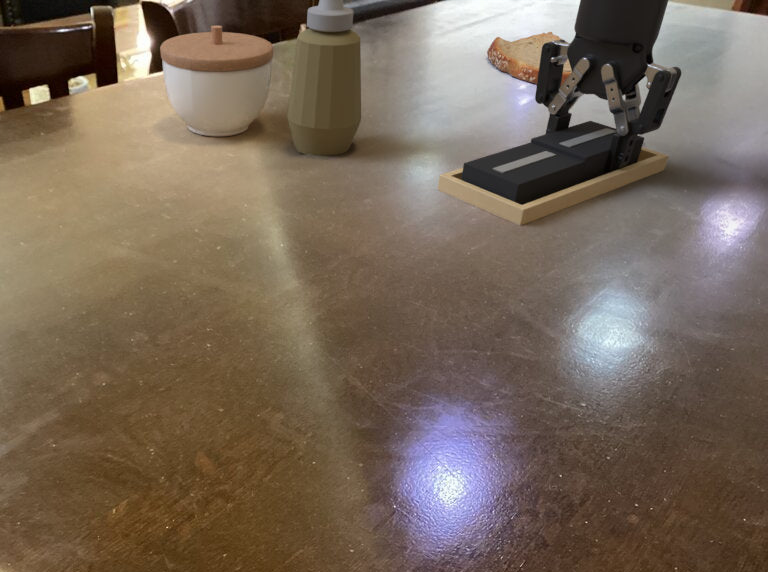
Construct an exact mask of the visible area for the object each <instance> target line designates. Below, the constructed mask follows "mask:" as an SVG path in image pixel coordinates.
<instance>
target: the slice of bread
mask: <svg viewBox="0 0 768 572" xmlns="http://www.w3.org/2000/svg"><path fill="white" fill-rule="evenodd" d="M561 39H562V38H561V37H560V36H559V35H557V34H553V32H552V31H548V32H547V33H546V32H542V33H539V34H533V35H530V36H528V37H521V38H520V39H517V40H516V39H515V40H513V41H510V40H506V39H504V38H502V37H500V36H496V38H494V40H493V41H492V42H491V43H490V45H489V47H488V49H487V52H486V54H487V58H488V61H489V62H490V63H491V65H492V66H494V67H495V68H496V69H497V70H498V71H501V72H503V73H507V74H508V75H510V76H511V77H513V78H516V79H518V80H521V81H524V82H529V83H532V84H535V85H537V81H538V73H539V66H540V58H541V51H542V46H543V45H544V44H545V43H547V42H551V41H555V40H561ZM566 43H569V42H568V41H566ZM571 73H572V70H571V66H570V63H569V60H568V59H567V61H566V62H565V63H564V67H563V74H562V81H561V86H562V84H563V83H564V82H565V80H566V79H567V78H568V77H569V75H570V74H571Z"/></svg>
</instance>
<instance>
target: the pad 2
mask: <svg viewBox="0 0 768 572" xmlns="http://www.w3.org/2000/svg"><path fill="white" fill-rule="evenodd" d="M614 134H617V131H616V127H612V126H608V125H605V124H602V123H599V122H596V121H593V120H588V121H584V122H582V123H581V122H580V123H578V124H575V125H572V126H569V127H568V128H565V129H562V130H558V131H555V132H552V133H548V134H543V135H540V136H536V137H532V138H531V139H530V143H533V144H536V145H539V146H542V147H545V148H547V149H550V150H553V151H556V152H559V153H562V154H565V155H568V156H570V157H573V158H576V159H579V160H582V161H585V164H584V168H583V171H582V175H581V179H580V183H583V182H586V181H588V180H591V179H594V178H597V177H599V176H602V175H605V174H607V173H610V171H607V170H605V167H606V163H607V159H608V156H609V152H610V146H611V143H612V139H613V135H614ZM644 141H645V137H644V136H642V135H639V134H638V135H637V137H636V140H635V143H634V147H633V150H632V154H631V157H630V161H629V162H628V163H627V165H625V166H623V167H622V168H624V167H626V166H629V165H632V164H635V163H637V162H638V158H639V155H640V152H641V148H642V147H643V145H644ZM580 183H579V184H580Z"/></svg>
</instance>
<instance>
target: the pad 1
mask: <svg viewBox="0 0 768 572" xmlns="http://www.w3.org/2000/svg"><path fill="white" fill-rule="evenodd" d="M584 164H585V161H582V160H579V159H576V158H573V157H570V156H568V155H565V154H562V153H559V152H556V151H553V150H550V149H547V148H545V147H542V146H539V145H536V144H533V143H531V142H527V143H525V144H524V143H523V144H521V145H518V146H515V147H512V148H507V149H505V150H502V151H501V150H500V151H499V152H495V153H492V154H488V155H485V156H482V157H479V158H476V159H473V160H470V161H466V162H463V167H462V168H463V172H462V178H461V180H462V181H465V182H467V183H470V184H472V185H475V186H477V187H479V188H482V189H484V190H487V191H489V192H492V193H494V194H496V195H499V196H501V197H504V198H506V199H509V200H511V201H513V202H516V203H518V204H521V205H523V204H526V203H529V202H532V201H534V200H537V199H540V198H542V197H545V196H548V195H551V194H553V193H556V192H559V191H561V190H564V189H567V188H569V187H572V186H575V185H578V184H579V183H580V179H581V175H582V171H583V168H584Z"/></svg>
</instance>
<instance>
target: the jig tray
mask: <svg viewBox="0 0 768 572" xmlns="http://www.w3.org/2000/svg"><path fill="white" fill-rule="evenodd" d="M669 156H670V155H669V154H665V153H662V152H659V151H656V150H653V149H649V148H647V147H644V146H642V148H641V152H640V155H639V158H638V162H637V163H635V164H632V165H629V166H626V167H624V168H621V169H618V170H616V171H613V172H610V173H607V174H605V175H602V176H599V177H597V178H594V179H591V180H588V181H586V182H583V183H580V184H578V185H575V186H572V187H569V188H567V189H564V190H561V191H559V192H556V193H553V194H551V195H548V196H545V197H542V198H540V199H537V200H534V201H532V202H529V203H526V204H523V205H521V204H518V203H516V202H513V201H511V200H509V199H506V198H504V197H501V196H499V195H496V194H494V193H492V192H489V191H487V190H484V189H482V188H479V187H477V186H475V185H472V184H470V183H467V182H465V181H462V180H461V178H462V172H463V167H460V168H457V169H454V170H451V171H448V172H445V173H442V174H439V179H438V185H437V191H438V192H441V193H444V194H446V195H448V196H451V197H452V198H455V199H457V200H460V201H462V202H465V204H466V203H467V204H469V205H470V206H471V205H472V206H473V207H476V208H477V209H481V210H483V211H485V212H488V213H489V214H491V215H494V216H497V217H499V218H501V219H503V220H506V221H508V222H511V223H512V224H515V225H517V226H523V225H526V224H529V223H532V222H534V221H536V220H539V219H541V218H544V217H546V216H549V215H552V214H554V213H557V212H560V211H562V210H564V209H567V208H570V207H573V206H575V205H578V204H581V203H583V202H586V201H588V200H590V199H593V198H596V197H598V196H601V195H603V194H606V193H608V192H611V191H614V190H616V189H619V188H621V187H624V186H626V185H630V184H631V183H632V184H633V183H634V182H637V181H640V180H642V179H645V178H647V177H651V176H653V175H654V174H658V173H660V172H662V171H664V170H665V169H666V166H667V162H668V159H669Z"/></svg>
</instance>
